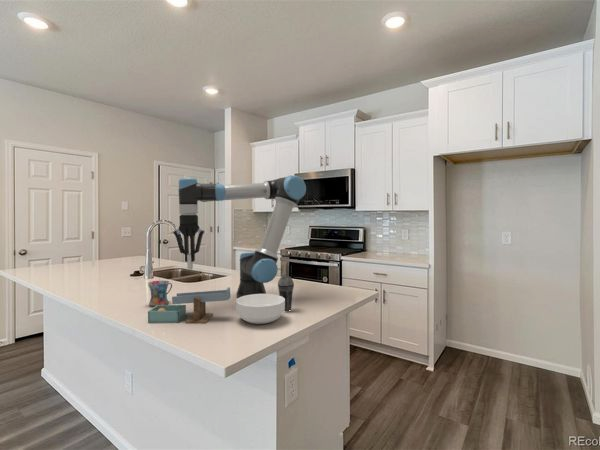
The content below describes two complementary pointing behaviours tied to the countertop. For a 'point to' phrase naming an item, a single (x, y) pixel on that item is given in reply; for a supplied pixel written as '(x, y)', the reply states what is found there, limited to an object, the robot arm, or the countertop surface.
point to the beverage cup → (286, 290)
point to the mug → (159, 292)
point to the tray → (167, 314)
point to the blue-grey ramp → (202, 296)
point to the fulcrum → (199, 313)
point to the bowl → (260, 308)
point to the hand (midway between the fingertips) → (190, 269)
